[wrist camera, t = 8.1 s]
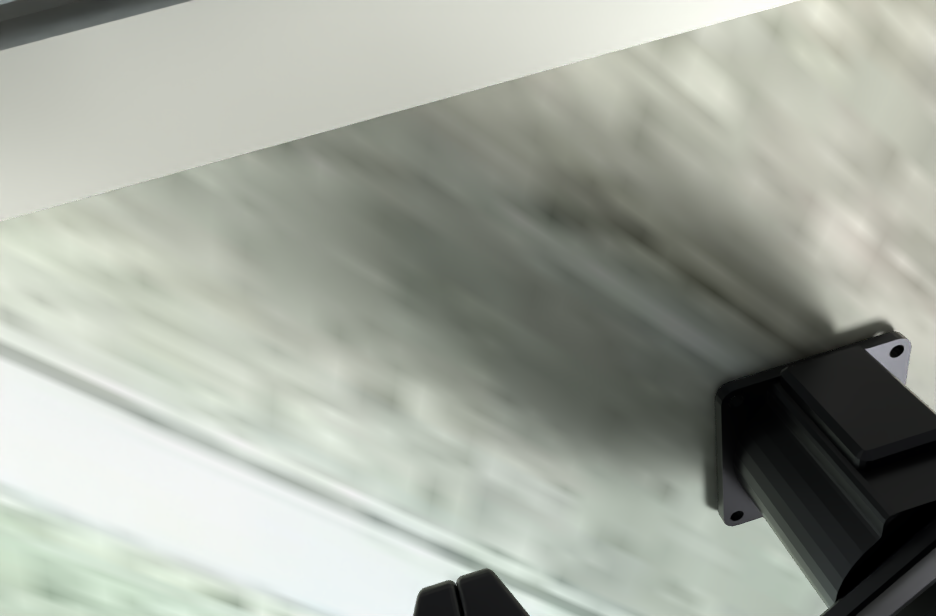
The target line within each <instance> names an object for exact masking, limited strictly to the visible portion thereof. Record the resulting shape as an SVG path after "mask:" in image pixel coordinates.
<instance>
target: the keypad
mask: <svg viewBox="0 0 936 616" xmlns="http://www.w3.org/2000/svg"><path fill="white" fill-rule="evenodd" d="M796 1H799V0H17V1H13V2H9V3H5V4H1V5H0V222H1V221H5V220H8V219H12V218H15V217H19V216H23V215H26V214H30V213H33V212H37V211H41V210H44V209H48V208H52V207H55V206H59V205H62V204H66V203H70V202H73V201H77V200H80V199H84V198H88V197H91V196H95V195H98V194H102V193H106V192H109V191H113V190H117V189H120V188H124V187H127V186H131V185H135V184H138V183H142V182H145V181H149V180H153V179H156V178H160V177H164V176H167V175H171V174H174V173H178V172H182V171H185V170H189V169H192V168H196V167H200V166H203V165H207V164H211V163H214V162H218V161H221V160H225V159H229V158H232V157H236V156H239V155H243V154H247V153H250V152H254V151H257V150H261V149H265V148H268V147H272V146H276V145H279V144H283V143H286V142H290V141H294V140H297V139H301V138H304V137H308V136H312V135H315V134H319V133H323V132H326V131H330V130H333V129H337V128H341V127H344V126H348V125H351V124H355V123H359V122H362V121H366V120H369V119H373V118H377V117H380V116H384V115H388V114H391V113H395V112H398V111H402V110H406V109H409V108H413V107H416V106H420V105H424V104H427V103H431V102H435V101H438V100H442V99H445V98H449V97H453V96H456V95H460V94H463V93H467V92H471V91H474V90H478V89H481V88H485V87H489V86H492V85H496V84H500V83H503V82H507V81H510V80H514V79H518V78H521V77H525V76H528V75H532V74H536V73H539V72H543V71H547V70H550V69H554V68H557V67H561V66H565V65H568V64H572V63H575V62H579V61H583V60H586V59H590V58H594V57H597V56H601V55H604V54H608V53H612V52H615V51H619V50H622V49H626V48H630V47H633V46H637V45H640V44H644V43H648V42H651V41H655V40H659V39H662V38H666V37H669V36H673V35H677V34H680V33H684V32H687V31H691V30H695V29H698V28H702V27H706V26H709V25H713V24H716V23H720V22H724V21H727V20H731V19H734V18H738V17H742V16H745V15H749V14H752V13H756V12H760V11H763V10H767V9H771V8H774V7H778V6H781V5H785V4H789V3H792V2H796Z"/></svg>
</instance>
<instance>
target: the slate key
mask: <svg viewBox="0 0 936 616" xmlns="http://www.w3.org/2000/svg"><path fill="white" fill-rule="evenodd" d="M13 1H17V0H0V5H1V4H5V3H9V2H13Z"/></svg>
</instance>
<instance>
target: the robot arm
mask: <svg viewBox="0 0 936 616" xmlns="http://www.w3.org/2000/svg"><path fill="white" fill-rule="evenodd" d="M910 352H911V342H910V341H909V340H908V339H907V338H906V337H905V336H903V335H902V334H901V333H899V332H896V331H895V332H889V333H886V334H883V335H880V336H876V337H873V338H870V339H867V340H864V341H860V342H857V343H854V344H851V345H847V346H844V347H841V348H838V349H834V350H831V351H828V352H825V353H822V354H818V355H815V356H812V357H809V358H805V359H802V360H799V361H796V362H792V363H789V364H786V365H783V366H780V367H776V368H773V369H770V370H767V371H763V372H760V373H757V374H754V375H751V376H747V377H744V378H741V379H738V380H734V381H731V382H728V383H726V384H724V385H723V386H722V387H721V388H719V390H718V391H717V393H716V396H715V414H716V448H717V483H718V512H719V515H720V517H721V518H722V520H723V521H724V523H725V524H726V525H728V526H735V525H739V524H742V523H745V522H748V521H751V520H755V519H758V518H761V517H764V518H765V519H766V521H767V522H768V524H769V525H770V527H771V528H772V529H773V531H774V532H775V534H776V535H777V536H778V538H779V539H780V541H781V542H782V544H783V545H784V546H785V548H786V549H787V551H788V552H789V553H790V555H791V556H792V558H793V559H794V561H795V562H796V563H797V565H798V566H799V568H800V569H801V570H802V572H803V573H804V575H805V576H806V578H807V579H808V580H809V582H810V583H811V585H812V586H813V587H814V589H815V590H816V592H817V593H818V595H819V596H820V597H821V599H822V600H823V602H824V603H825V604H826V606H827V607H828V609H827V610H826V611H825V612H824V613H823V614H821V615H820V616H936V413H935V412H934V411H933V410H932V409H931V408H930V407H929V406H928V405H927V404H925V403H924V402H923V401H922V400H921V399H920V398H919V397H918V396H916V395H915V394H914V393H913V392H912V391H911V390H910V389H909V388H908V387H906V386H905V384H906V378H907V371H908V365H909V358H910ZM734 396H735V397H734ZM732 397H734V398H732ZM731 398H732V399H731ZM456 585H457V586H456ZM413 616H530V615H529V614H528V613H527V612H526V611H525V609H524V608H523V607H522V606H521V604H520V603H519V602H518V601H517V600H516V598H515V597H514V596H513V595H512V593H511V592H510V591H509V590H508V589H507V587H506V586H505V585H504V584H503V582H502V581H501V580H500V579H499V578H498V576H497V575H496V574H495V573H494V572H493V571H492V570H490V569H487V568H485V569H482V570H478V571H475V572H472V573H469V574H466V575H463V576H460V577H459V578H458V579H457V582H456V584H455V582H453V581H451V580H447V581H444V582H441V583H438V584H435V585H432V586H429V587H425V588H423V589H422V590H421V591H420V592H419V594H418V596H417V599H416V604H415V609H414V614H413Z"/></svg>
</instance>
